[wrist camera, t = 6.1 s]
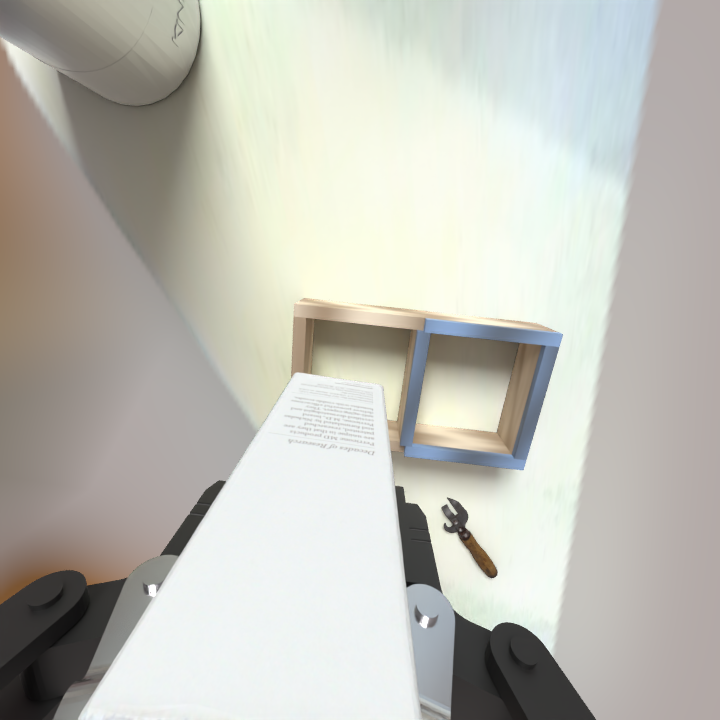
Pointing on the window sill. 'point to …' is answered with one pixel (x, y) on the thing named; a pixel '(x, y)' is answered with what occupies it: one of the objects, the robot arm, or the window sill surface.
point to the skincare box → (284, 582)
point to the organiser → (404, 433)
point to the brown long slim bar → (468, 537)
